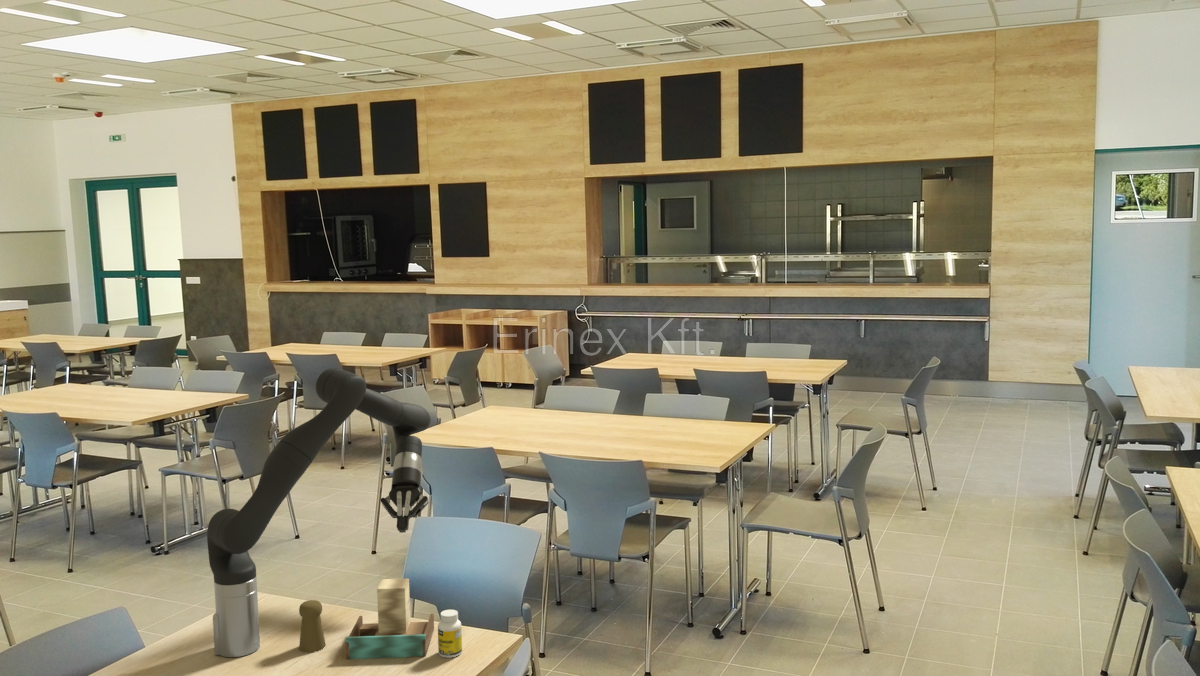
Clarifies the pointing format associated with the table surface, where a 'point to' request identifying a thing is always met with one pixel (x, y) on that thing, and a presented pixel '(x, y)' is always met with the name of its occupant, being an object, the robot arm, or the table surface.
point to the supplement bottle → (449, 634)
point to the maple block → (393, 606)
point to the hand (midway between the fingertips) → (402, 531)
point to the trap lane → (388, 641)
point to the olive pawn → (311, 627)
